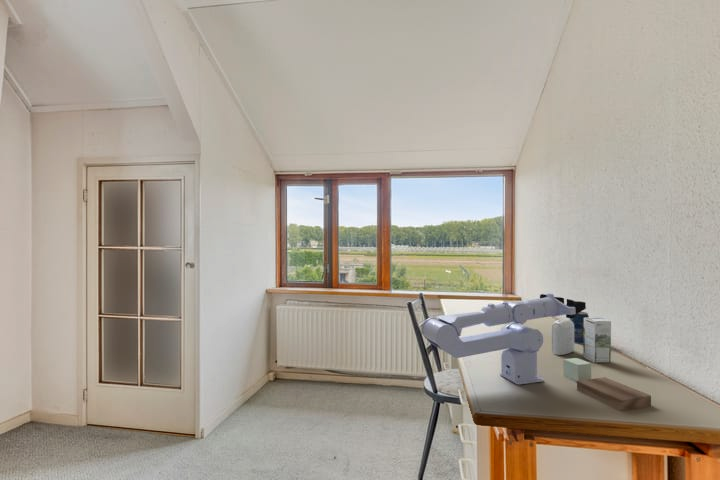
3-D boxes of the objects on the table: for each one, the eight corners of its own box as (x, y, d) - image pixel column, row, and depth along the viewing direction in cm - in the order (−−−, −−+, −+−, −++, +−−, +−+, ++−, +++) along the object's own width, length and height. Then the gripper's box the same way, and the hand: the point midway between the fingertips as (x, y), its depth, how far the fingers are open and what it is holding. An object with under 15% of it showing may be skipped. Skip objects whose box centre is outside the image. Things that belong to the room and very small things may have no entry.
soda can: (568, 342, 140) (568, 312, 140) (571, 338, 145) (571, 310, 145) (588, 345, 135) (588, 315, 135) (590, 341, 140) (590, 312, 141)
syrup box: (598, 357, 121) (598, 316, 121) (611, 363, 115) (611, 320, 115) (583, 357, 121) (582, 316, 121) (595, 363, 115) (594, 320, 115)
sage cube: (578, 382, 100) (578, 364, 100) (563, 375, 105) (563, 359, 105) (591, 380, 101) (591, 363, 101) (576, 374, 106) (576, 357, 106)
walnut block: (621, 413, 82) (621, 400, 82) (576, 392, 94) (576, 381, 94) (651, 407, 85) (651, 395, 85) (604, 387, 97) (604, 377, 97)
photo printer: (564, 348, 131) (564, 316, 131) (576, 351, 127) (576, 318, 128) (550, 353, 125) (549, 319, 126) (562, 356, 122) (562, 322, 122)
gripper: (557, 299, 97) (594, 294, 101) (520, 291, 111) (554, 287, 115) (558, 324, 97) (595, 317, 101) (521, 313, 111) (555, 308, 115)
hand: (573, 303), depth 108 cm, fingers open, 7 cm apart
